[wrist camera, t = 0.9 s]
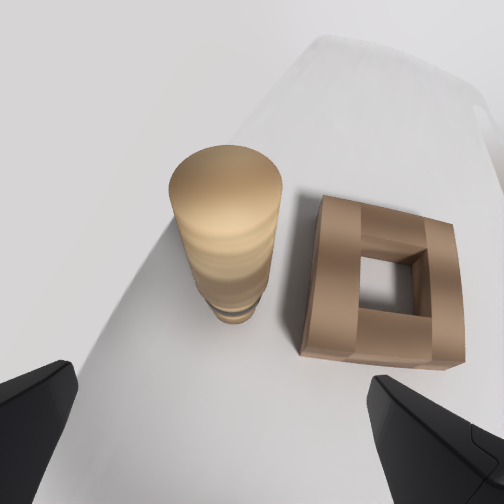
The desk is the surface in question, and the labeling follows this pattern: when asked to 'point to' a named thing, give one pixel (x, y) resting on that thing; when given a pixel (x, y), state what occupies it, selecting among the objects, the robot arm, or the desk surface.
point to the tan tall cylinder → (228, 225)
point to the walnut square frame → (374, 321)
